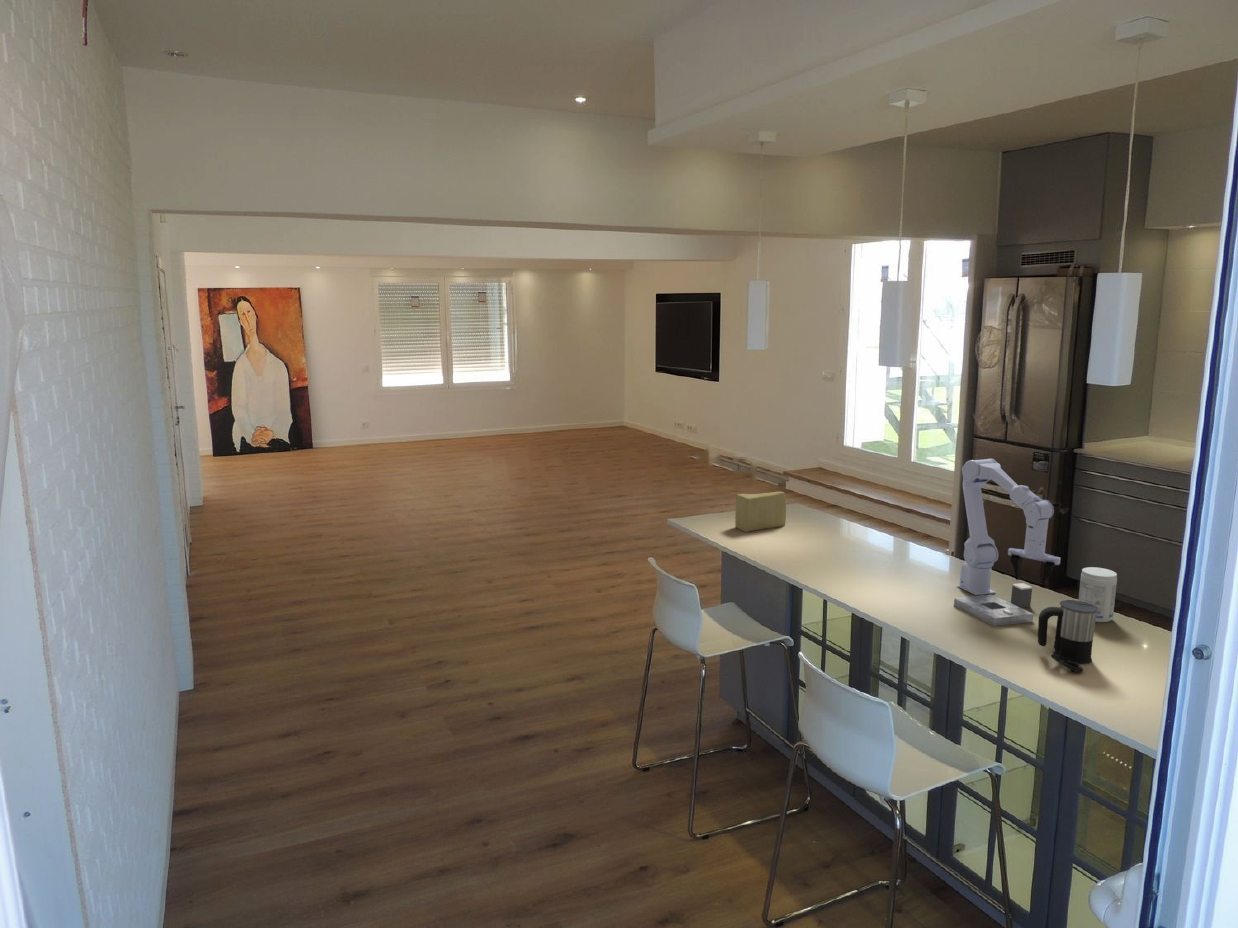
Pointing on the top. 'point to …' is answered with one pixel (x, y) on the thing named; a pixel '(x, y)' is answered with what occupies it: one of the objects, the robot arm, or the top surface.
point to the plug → (1021, 595)
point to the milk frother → (1070, 632)
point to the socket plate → (993, 610)
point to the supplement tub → (1099, 591)
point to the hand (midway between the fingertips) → (1030, 581)
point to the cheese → (760, 511)
